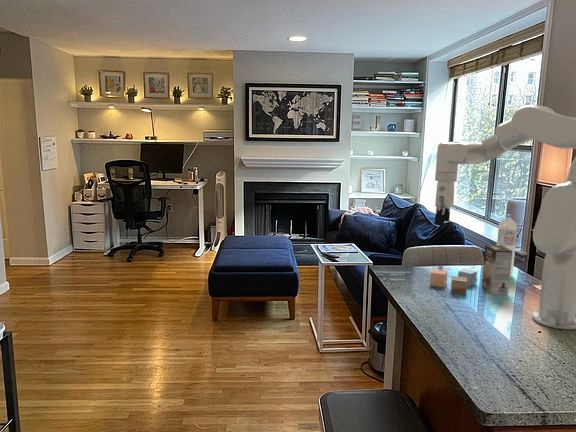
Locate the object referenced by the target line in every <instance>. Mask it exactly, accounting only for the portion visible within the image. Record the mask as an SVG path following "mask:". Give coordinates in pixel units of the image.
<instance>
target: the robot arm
mask: <svg viewBox="0 0 576 432" xmlns="http://www.w3.org/2000/svg"><path fill="white" fill-rule="evenodd" d="M494 131H495V134H493V135H492V136H490V137H488V138H485V139H484V140H481V141H478V142H441V143H439V144H438V145H437V152H436V163H435V174H434V181H435V182H437V185H436V192H435V205H434V206H435V209H436V210H435V215H434V225H435V226H441V227H443V226H445V222H447V223H448V222H450V215H451V208H453V207H454V201H455V200H454V199H455V182H458V171H459V170H458V169H459V165H480V164H484V163H486V162H489V161H492V160H494V159H496V158H498V157H500V156H502V155H504V154H505V153H507V152H509V150H511V149H513V148H515V147H518V146H520V145H523V144H525V143H528V142H530V141H532V140H535V141H537V142H540V143H543V144H545V145H549V146H551V147H553V148H557V149H563V150H566V149H570V150H571V149H573V150H574V149H575V150H576V117H572V116H566V115H563V114H559V113H556V112H555V111H554V110H553V109H552V108H550V107H547V106H543V105H537V104H536V105H535V104H529V105H524V106H521V107H519V108H518V109H517V110H516V111H515V112H514V113H513V115H512V117H511V119H509V120H506V121H504V122H501V123H500V124H498V125H497V126H496V127H495V130H494ZM540 205H541V206H540V209H539V212H538V214H537V218H536V221H535V223H534V224H535V225H534V227H533V231H532V240H533V243H534V246H535V247H536V249H537V250H539V251H540V252H541V253H544V254H545V257H544V260H543V261H544V262H543V269H542V277H541V287H540V295H539V303H538V304H539V305H538V310H536V311H533V312H532V313H531V315H532V316H531V317H532V319H533V321H535V322H536V323H538V324H541V325H543V326H546V327H549V328H553V329H558V330H559V329H560V330H576V156H575V157H574V159H573V161H572V162H571V164H570V167H569V170H568V173H567V177H566V179H565V181H564V182H563V183H558V184H555V185H554V186H552V187H551V188H550V189H549V190H548V191H547V192H546V194H545V195H544V197H543V199H542V202H541V204H540Z"/></svg>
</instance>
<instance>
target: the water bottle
mask: <svg viewBox="0 0 576 432" xmlns="http://www.w3.org/2000/svg"><path fill="white" fill-rule="evenodd" d="M505 216H506V217H505V218H504V219H502V220H501V221H500V222H499V223H498V227H497V228H498V230H497V231H498V232H497V240H496V245H502V246H504V247H506V248H508V249H509V250H511V251H513V252H512V261H511V270H510V276H511V277H513V272H514V262H515V252H516V240H517V231H518V224H517V223H516V222H515V220H514V219H512V214H509V213H508V214H506V215H505Z"/></svg>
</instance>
